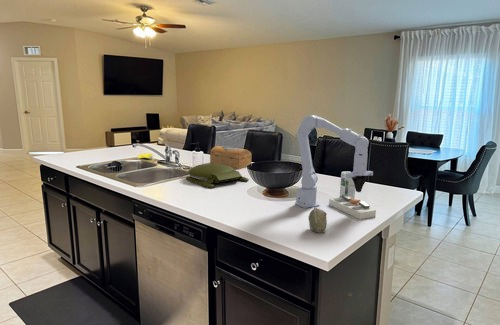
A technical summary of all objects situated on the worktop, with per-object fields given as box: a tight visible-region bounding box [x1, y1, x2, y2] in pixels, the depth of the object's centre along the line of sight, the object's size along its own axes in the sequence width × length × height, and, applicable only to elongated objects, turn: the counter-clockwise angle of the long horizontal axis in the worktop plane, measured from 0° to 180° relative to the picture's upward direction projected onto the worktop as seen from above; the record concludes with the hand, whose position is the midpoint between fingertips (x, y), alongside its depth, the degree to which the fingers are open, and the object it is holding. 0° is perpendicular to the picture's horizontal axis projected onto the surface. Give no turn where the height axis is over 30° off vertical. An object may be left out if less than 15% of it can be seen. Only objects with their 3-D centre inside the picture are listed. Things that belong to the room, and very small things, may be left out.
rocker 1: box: [350, 198, 361, 203], centre depth 164 cm, size 3×4×1 cm, turn 25°
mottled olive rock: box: [308, 206, 328, 233], centre depth 138 cm, size 9×8×10 cm
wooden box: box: [209, 145, 253, 170], centre depth 265 cm, size 30×16×14 cm, turn 50°
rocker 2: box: [359, 200, 371, 208], centre depth 158 cm, size 3×4×1 cm, turn 24°
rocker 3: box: [342, 194, 352, 201], centre depth 169 cm, size 3×4×1 cm, turn 25°
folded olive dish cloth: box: [185, 163, 250, 189], centre depth 220 cm, size 35×31×10 cm
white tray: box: [328, 196, 377, 220], centre depth 163 cm, size 9×22×3 cm, turn 24°
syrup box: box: [338, 170, 356, 199], centre depth 180 cm, size 6×6×14 cm
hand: (358, 191), depth 161 cm, fingers closed
